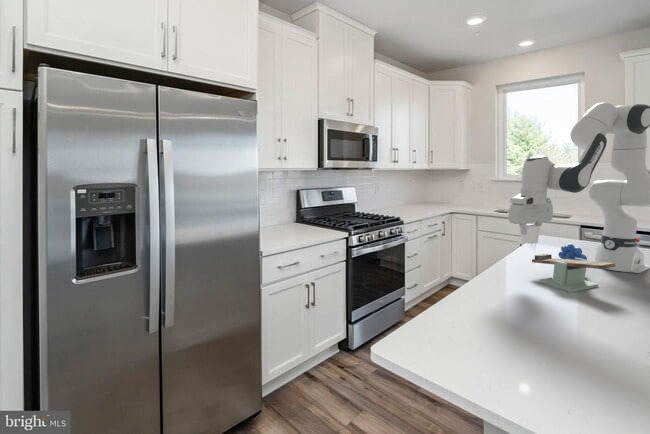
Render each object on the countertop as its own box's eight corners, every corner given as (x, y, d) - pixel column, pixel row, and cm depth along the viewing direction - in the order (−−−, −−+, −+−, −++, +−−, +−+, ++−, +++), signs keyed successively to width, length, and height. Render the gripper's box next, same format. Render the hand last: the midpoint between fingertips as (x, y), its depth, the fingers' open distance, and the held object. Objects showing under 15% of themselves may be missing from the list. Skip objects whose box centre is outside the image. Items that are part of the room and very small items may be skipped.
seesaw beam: (530, 264, 146) (529, 255, 146) (547, 262, 150) (546, 253, 150) (599, 271, 122) (599, 261, 122) (617, 268, 126) (616, 258, 126)
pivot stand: (566, 277, 146) (569, 254, 145) (598, 286, 135) (601, 262, 134) (539, 282, 140) (541, 258, 138) (570, 292, 129) (573, 267, 128)
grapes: (551, 269, 157) (553, 242, 155) (560, 267, 159) (563, 241, 158) (579, 277, 146) (582, 248, 144) (588, 275, 149) (592, 247, 147)
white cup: (542, 244, 136) (543, 225, 135) (522, 243, 137) (523, 225, 137) (535, 240, 143) (536, 223, 142) (516, 240, 144) (517, 223, 143)
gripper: (543, 196, 144) (540, 230, 146) (507, 198, 136) (504, 234, 139) (559, 198, 138) (555, 233, 141) (521, 200, 131) (518, 237, 133)
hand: (529, 233), depth 140 cm, fingers closed on white cup, 5 cm apart
